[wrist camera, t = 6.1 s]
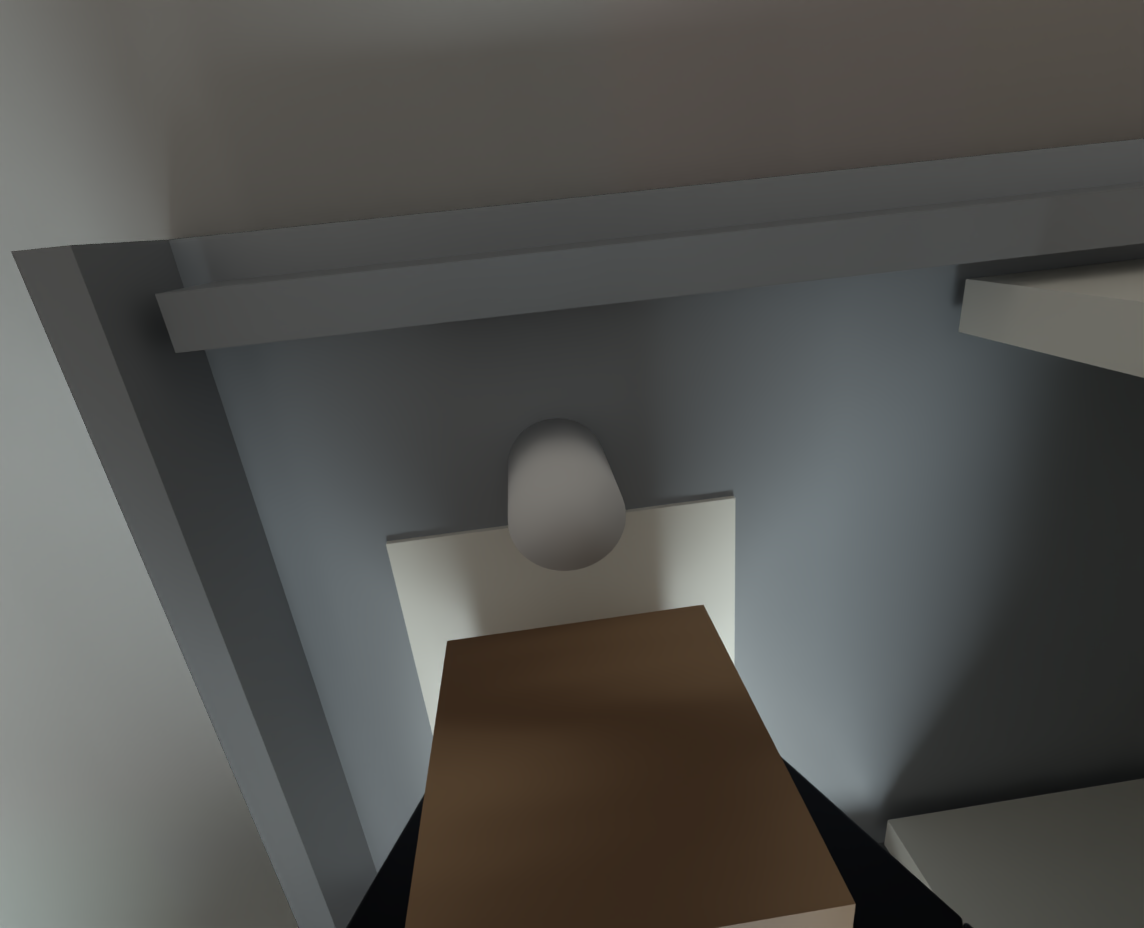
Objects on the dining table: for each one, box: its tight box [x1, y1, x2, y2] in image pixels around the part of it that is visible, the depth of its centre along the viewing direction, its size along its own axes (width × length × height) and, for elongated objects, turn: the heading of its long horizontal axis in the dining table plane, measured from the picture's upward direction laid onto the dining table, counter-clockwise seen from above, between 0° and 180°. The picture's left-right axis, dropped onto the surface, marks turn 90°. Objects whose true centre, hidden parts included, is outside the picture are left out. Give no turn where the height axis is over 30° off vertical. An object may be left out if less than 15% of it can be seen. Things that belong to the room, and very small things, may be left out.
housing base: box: [12, 138, 1144, 928], centre depth 11 cm, size 22×16×3 cm
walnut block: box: [405, 605, 856, 928], centre depth 8 cm, size 4×4×4 cm
